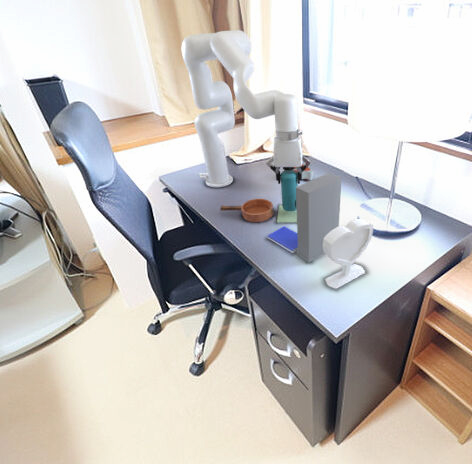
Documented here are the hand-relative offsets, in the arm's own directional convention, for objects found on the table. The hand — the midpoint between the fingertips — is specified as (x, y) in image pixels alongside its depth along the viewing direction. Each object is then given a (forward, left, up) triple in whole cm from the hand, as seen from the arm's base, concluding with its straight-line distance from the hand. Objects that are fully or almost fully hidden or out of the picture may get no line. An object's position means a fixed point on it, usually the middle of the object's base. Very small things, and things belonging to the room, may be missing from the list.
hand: (289, 181), depth 118 cm
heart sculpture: (+18, -36, -14) cm, 42 cm away
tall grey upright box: (+10, -23, -14) cm, 29 cm away
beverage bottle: (0, 0, -13) cm, 13 cm away
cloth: (0, 0, -14) cm, 14 cm away
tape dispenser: (+3, +35, -14) cm, 38 cm away
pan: (-13, 0, -14) cm, 19 cm away
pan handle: (-23, 0, -12) cm, 26 cm away
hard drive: (0, -18, -14) cm, 23 cm away
